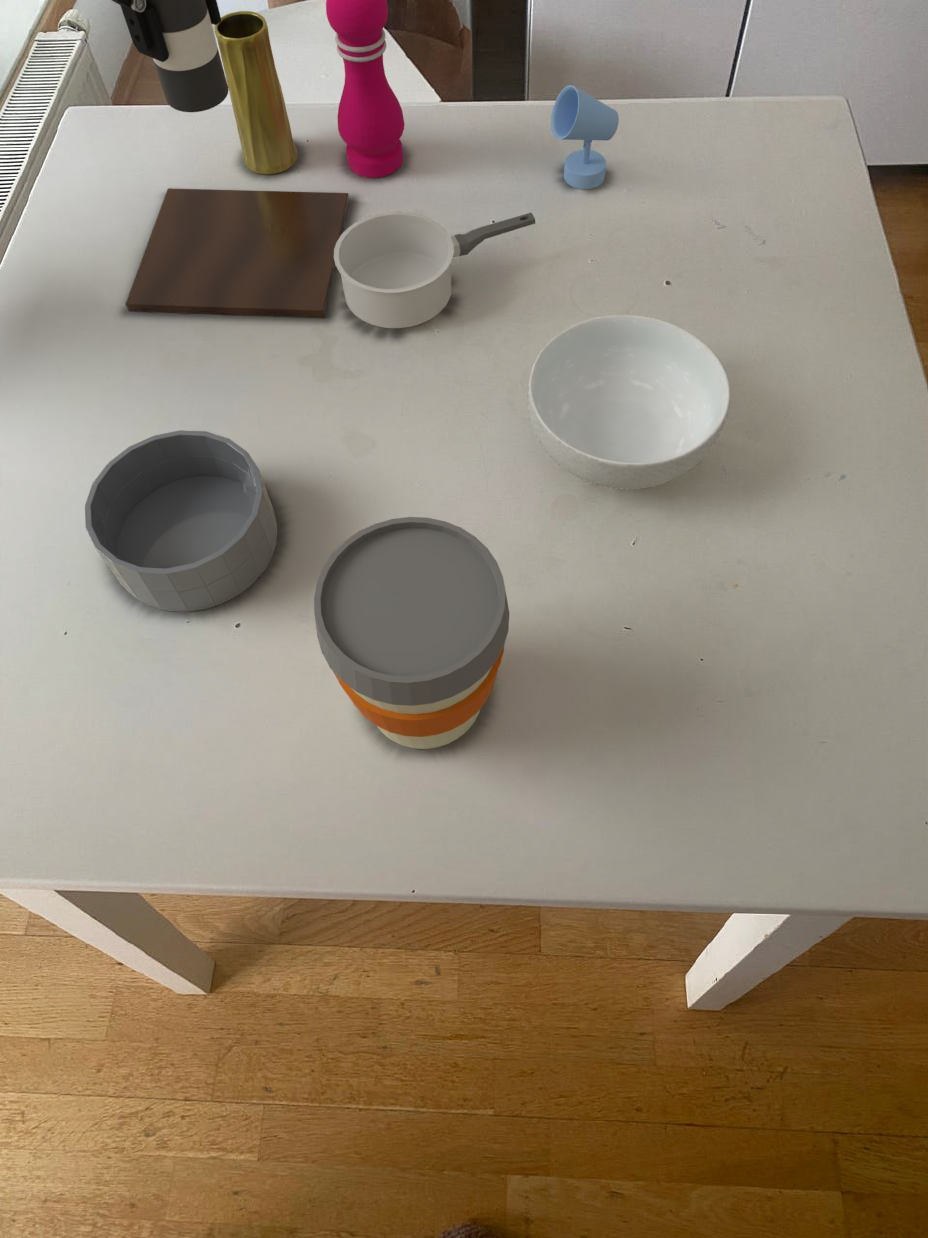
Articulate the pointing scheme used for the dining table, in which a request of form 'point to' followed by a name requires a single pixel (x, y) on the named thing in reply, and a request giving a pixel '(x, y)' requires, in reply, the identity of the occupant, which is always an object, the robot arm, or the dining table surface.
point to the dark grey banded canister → (189, 56)
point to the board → (241, 253)
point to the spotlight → (583, 134)
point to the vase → (255, 92)
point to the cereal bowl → (627, 400)
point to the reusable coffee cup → (413, 627)
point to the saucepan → (404, 265)
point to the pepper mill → (366, 88)
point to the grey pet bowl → (182, 520)
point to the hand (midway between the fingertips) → (179, 34)
